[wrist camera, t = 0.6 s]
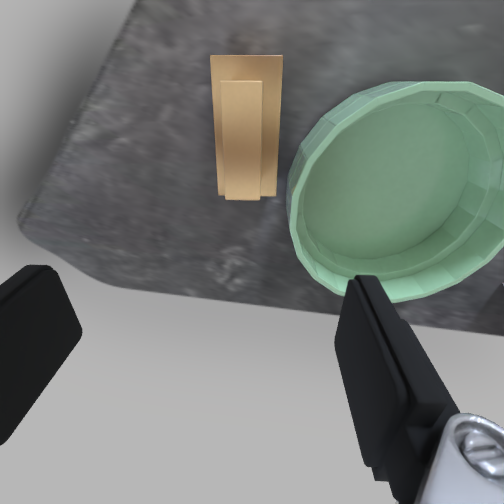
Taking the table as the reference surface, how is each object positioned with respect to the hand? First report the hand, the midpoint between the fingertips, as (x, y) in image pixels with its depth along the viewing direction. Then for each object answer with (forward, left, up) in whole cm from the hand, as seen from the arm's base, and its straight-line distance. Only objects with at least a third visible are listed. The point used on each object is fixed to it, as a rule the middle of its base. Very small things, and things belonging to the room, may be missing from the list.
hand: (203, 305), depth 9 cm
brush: (-3, 0, -19) cm, 19 cm away
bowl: (+2, +12, -19) cm, 23 cm away
